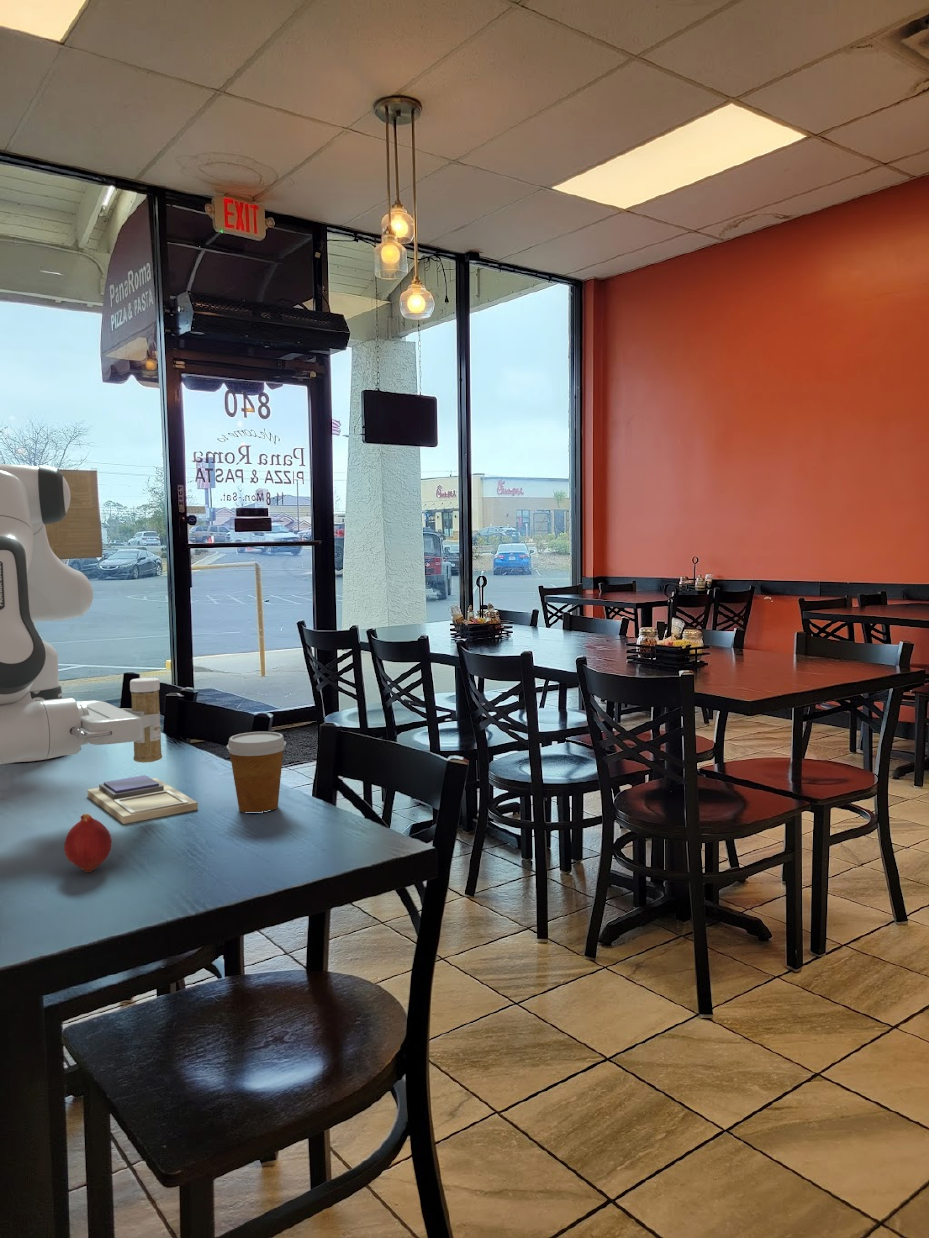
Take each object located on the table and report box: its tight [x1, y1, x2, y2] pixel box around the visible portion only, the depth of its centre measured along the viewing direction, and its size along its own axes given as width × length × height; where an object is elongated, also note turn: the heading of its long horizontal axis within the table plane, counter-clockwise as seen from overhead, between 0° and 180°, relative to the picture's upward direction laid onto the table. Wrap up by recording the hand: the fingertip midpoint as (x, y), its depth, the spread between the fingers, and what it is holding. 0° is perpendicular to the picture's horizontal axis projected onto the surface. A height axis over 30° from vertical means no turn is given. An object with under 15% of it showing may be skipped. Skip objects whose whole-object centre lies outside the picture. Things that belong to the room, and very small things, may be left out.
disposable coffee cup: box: [226, 731, 287, 813], centre depth 147 cm, size 10×10×12 cm
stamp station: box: [86, 774, 199, 825], centre depth 152 cm, size 20×12×2 cm, turn 38°
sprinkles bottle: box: [129, 677, 163, 764], centre depth 147 cm, size 5×5×14 cm
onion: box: [63, 813, 113, 873], centre depth 120 cm, size 6×6×8 cm
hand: (152, 715), depth 147 cm, fingers closed on sprinkles bottle, 4 cm apart
